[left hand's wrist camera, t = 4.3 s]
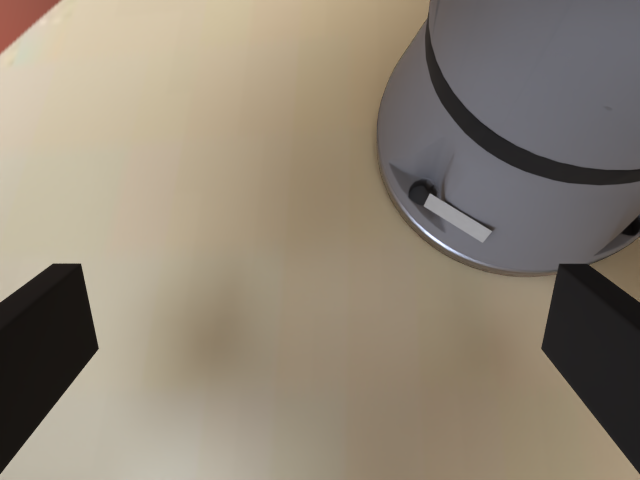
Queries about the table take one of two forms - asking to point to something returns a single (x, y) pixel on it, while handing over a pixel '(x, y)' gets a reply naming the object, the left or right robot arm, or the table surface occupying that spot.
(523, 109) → the left robot arm
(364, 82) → the table surface
